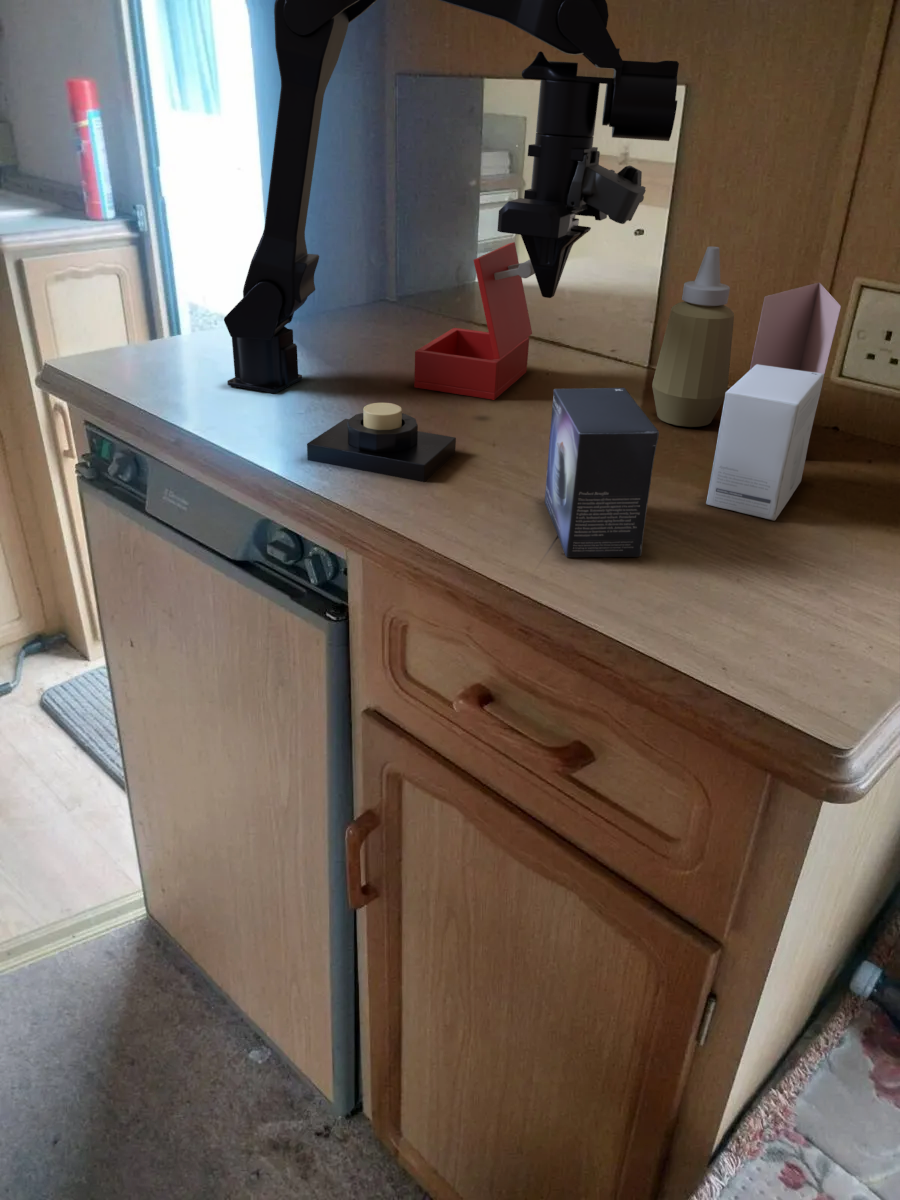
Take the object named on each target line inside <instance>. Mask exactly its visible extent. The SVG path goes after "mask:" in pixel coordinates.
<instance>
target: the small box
mask: <svg viewBox="0 0 900 1200" xmlns="http://www.w3.org/2000/svg"><path fill="white" fill-rule="evenodd" d="M552 394H553V395H552V397H553V398H552V405H551V407H552V409H551V418H550V429H549V444H548V454H547V467H546V480H545V490H544V491H545V492H544V505H545V507H546V510H547V512H548V515H549V517H550V520H551V523H552V525H553V528H554V530H555V533H556V535H557V538H558V539H559V543H560V545H561V548H562V551H563V553H564V555H565V557H566V558H635V557H637V558H639V557H641V556H642V554H643V553H642V552H643V542H644V535H645V534H644V533H645V525H646V518H647V511H648V503H649V496H650V490H651V489H650V488H651V482H652V475H653V468H654V463H655V462H654V461H655V455H656V451H657V446H658V441H659V437H660V431H659V429H658V428H657V427H656V426H655V424H653V422H652V421H651V420H650V418H649V417H648V416H647V414H646V413H645V412H644V410H643V409H642V408H641V407H640V406H639V404H638V403H637V402H636V401H635V399H634V398H633V397H632V395H631V394H630V393H629V392H628V390H627V389H626V388H625V387H596V388H595V387H594V388H593V387H590V388H589V387H587V388H577V387H576V388H554V389H553V393H552Z"/></svg>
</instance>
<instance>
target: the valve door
mask: <svg viewBox="0 0 900 1200" xmlns="http://www.w3.org/2000/svg"><path fill="white" fill-rule="evenodd" d="M473 265H474V270H475V274H476V278H477V284H478V288H479V293H480V297H481V303H482V306H483V307H482V308H483V312H484V317H485V323H486V327H487V332H489V336H490V341H491V346H492V350H493V355H494V359H500V358H501V357H502V356H504V355H505V354H506V353H508V352H509V351H510V350H512V349H513V348H514V347H516V346H517V345H518V344H519V343H521V342H522V341H523V340H525V339H526V338H530V336H532V335H533V331H532V324H531V320H530V315H529V310H528V304H527V298H526V294H525V289H524V283H523V279H528V278H530V277H532V276H534V275H535V273H534V270H533V267H532V264H531V261H530V259H528V260H526V261H523V262H520V263H519V258H518V251H517V246H516V242H515V241H513V242H509V243H507V244H505V245H503V246H500V247H498V248H496V249H494V250H492V251H490V252H488V253H485V254H483V255H481V256H478V257H476V258H474V259H473Z"/></svg>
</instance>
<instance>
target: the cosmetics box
mask: <svg viewBox="0 0 900 1200" xmlns="http://www.w3.org/2000/svg"><path fill="white" fill-rule="evenodd" d="M824 378H825V374H822V373H816V372H808V371H801V370H794V369H787V368H780V367H773V366H766V365H759V364H756V365H755V366H754V367H753V368H752V369H751V370H750V369H749V370H748V371H747V372H746V373H744V375H743V376H742V377H741V378H739V379H738V380H737V381H736V382H735V383H734V384H733V385H732V386H731V387H729V389H727V392H726V393H725V398H724V400H723V405H722V410H721V417H720V423H719V428H718V434H717V439H716V446H715V451H714V457H713V463H712V468H711V474H710V479H709V485H708V491H707V497H706V502H705V504H706V505H708V506H710V507H715V508H718V509H723V510H729V511H732V512H733V511H734V512H737V513H741V514H745V515H748V516H749V515H750V516H754V517H757V518H762V519H766V520H769V521H776V520H777V518H778V517H779V516H780V514H781V513H782V511H783V510H784V508H785V507H786V505H787V504H788V502H789V501H790V499H791V498H792V496H793V494H794V493H795V491H796V490H797V488H798V487H799V485H800V484H801V482H802V480H803V479H802V478H803V473H804V469H805V465H806V459H807V453H808V448H809V443H810V438H811V434H812V429H813V425H814V421H815V416H816V412H817V407H818V404H819V400H820V396H821V393H822V387H823V382H824Z"/></svg>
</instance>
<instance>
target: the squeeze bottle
mask: <svg viewBox="0 0 900 1200" xmlns="http://www.w3.org/2000/svg"><path fill="white" fill-rule="evenodd" d="M720 257H721V254H720V247H719V246H707V248H706V250H705V253H704V255H703V258H702V261H701V263H700V266H699V269H698V271H697V274H696V276H695V279H694V280H689V281H686V282H684V283H683V288H682V296H681V300H682V301H680V302H678V303H676V304H675V305H673V306H672V307H671V309H670V312H669V316H668V320H667V324H666V327H665V332H664V335H663V340H662V344H661V348H660V352H659V355H658V359H657V363H656V367H655V371H654V375H653V380H652V384H651V387H652V393H653V399H654V405H655V411H656V416H657V418H658V419H659V420H660V421H662V422H664V423H667V424H670V425H673V426H677V427H687V428H700V427H704V426H708V425H709V424H711V423H712V421H713V420H714V418H715V416H716V414H717V412H718V410H719V409H720V407H721V405H722V404H723V403H724V399H725V393H726V392H727V391H728V390H729V389H728V388H729V377H730V366H731V365H730V364H731V356H732V344H733V343H732V342H733V335H734V334H733V333H734V332H733V331H734V323H735V322H734V321H735V313H734V311H733V310H732V309H731V308H730V307H728V306H726V305H727V304H728V300H729V296H730V291H731V287H730V286H729V285H728V284H725V283H721V259H720Z"/></svg>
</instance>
